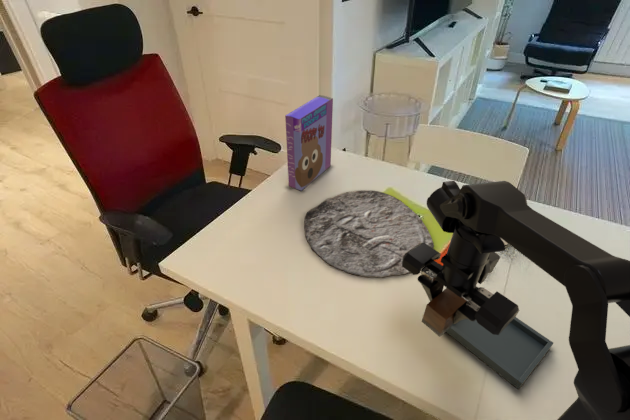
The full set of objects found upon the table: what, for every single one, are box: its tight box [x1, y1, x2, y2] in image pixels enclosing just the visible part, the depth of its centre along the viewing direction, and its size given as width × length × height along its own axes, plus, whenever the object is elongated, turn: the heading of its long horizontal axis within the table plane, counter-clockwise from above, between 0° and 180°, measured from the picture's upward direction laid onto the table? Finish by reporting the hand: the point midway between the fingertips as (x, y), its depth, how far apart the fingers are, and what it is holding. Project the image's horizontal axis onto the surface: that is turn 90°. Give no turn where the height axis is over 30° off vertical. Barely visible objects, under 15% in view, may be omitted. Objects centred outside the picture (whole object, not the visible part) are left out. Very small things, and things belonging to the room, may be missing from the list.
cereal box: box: [284, 94, 334, 192], centre depth 114 cm, size 17×5×24 cm, turn 147°
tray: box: [445, 316, 554, 390], centre depth 75 cm, size 17×13×2 cm
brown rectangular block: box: [421, 287, 466, 337], centre depth 66 cm, size 4×8×5 cm, turn 129°
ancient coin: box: [303, 189, 435, 278], centre depth 100 cm, size 33×35×1 cm
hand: (444, 314), depth 67 cm, fingers closed on brown rectangular block, 4 cm apart
